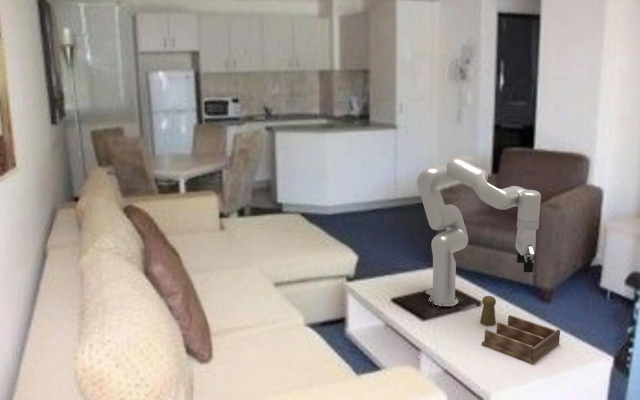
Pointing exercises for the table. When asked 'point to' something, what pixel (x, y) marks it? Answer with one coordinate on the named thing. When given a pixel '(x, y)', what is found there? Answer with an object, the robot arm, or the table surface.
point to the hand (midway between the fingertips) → (524, 267)
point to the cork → (488, 311)
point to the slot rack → (522, 339)
